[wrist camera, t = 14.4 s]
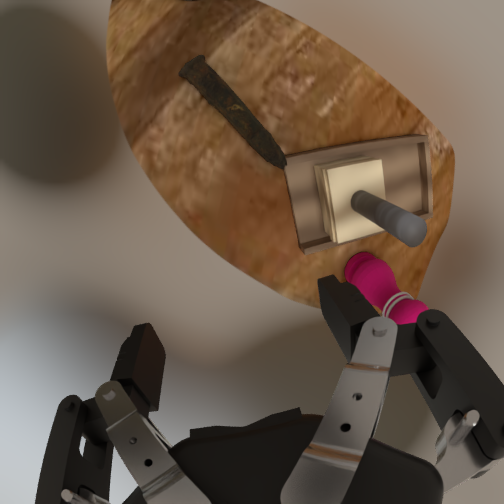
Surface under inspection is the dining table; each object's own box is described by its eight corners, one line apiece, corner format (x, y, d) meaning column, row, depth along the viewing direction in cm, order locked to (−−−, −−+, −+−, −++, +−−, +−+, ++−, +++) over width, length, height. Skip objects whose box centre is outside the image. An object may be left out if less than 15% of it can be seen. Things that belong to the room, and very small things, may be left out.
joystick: (311, 165, 37) (375, 189, 21) (363, 155, 37) (443, 174, 21) (323, 232, 41) (380, 290, 25) (370, 219, 41) (440, 266, 25)
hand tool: (179, 75, 31) (174, 68, 27) (203, 58, 30) (201, 48, 26) (264, 179, 38) (270, 184, 34) (287, 162, 38) (296, 165, 33)
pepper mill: (333, 275, 46) (393, 355, 27) (360, 241, 44) (435, 307, 25) (359, 293, 48) (418, 368, 30) (385, 262, 46) (455, 327, 28)
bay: (280, 156, 37) (285, 158, 34) (416, 134, 37) (427, 135, 35) (299, 247, 43) (305, 255, 40) (422, 212, 43) (432, 217, 40)
